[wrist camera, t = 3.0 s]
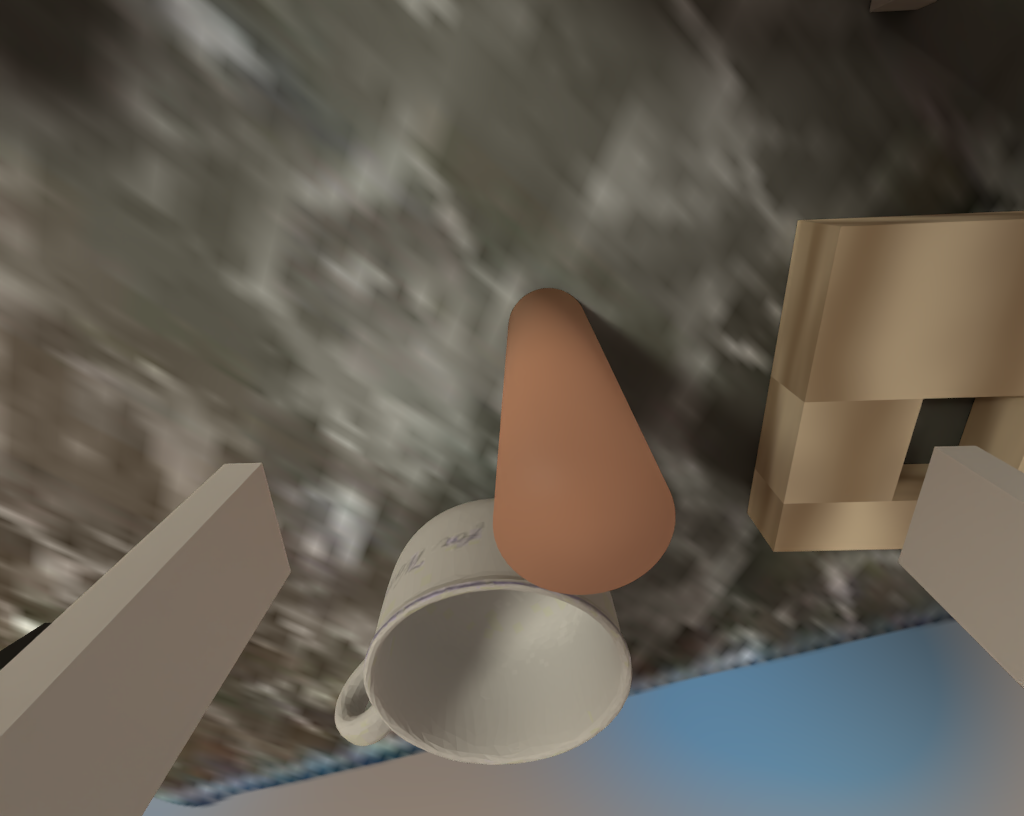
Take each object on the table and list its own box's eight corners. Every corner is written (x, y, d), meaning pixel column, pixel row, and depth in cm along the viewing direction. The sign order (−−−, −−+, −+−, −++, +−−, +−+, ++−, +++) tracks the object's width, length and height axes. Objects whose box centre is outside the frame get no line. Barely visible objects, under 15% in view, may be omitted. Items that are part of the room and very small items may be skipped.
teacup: (569, 442, 25) (589, 553, 17) (627, 604, 29) (664, 748, 22) (314, 522, 27) (236, 650, 20) (402, 662, 31) (366, 811, 24)
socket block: (747, 512, 26) (773, 551, 23) (797, 220, 20) (840, 226, 18) (1031, 505, 26) (1091, 544, 23) (1163, 205, 20) (1265, 209, 17)
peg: (510, 365, 23) (497, 596, 10) (506, 289, 22) (486, 448, 9) (585, 363, 23) (668, 593, 10) (587, 286, 22) (683, 442, 9)
